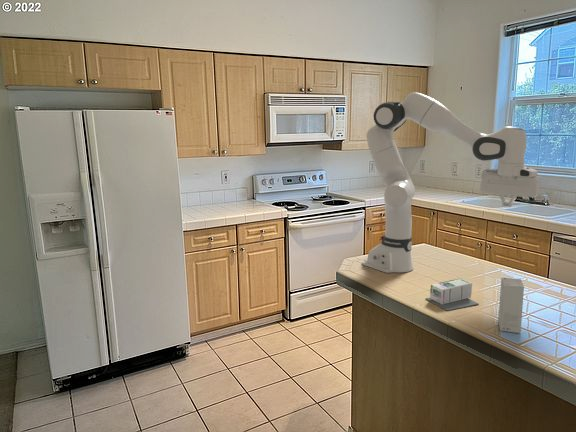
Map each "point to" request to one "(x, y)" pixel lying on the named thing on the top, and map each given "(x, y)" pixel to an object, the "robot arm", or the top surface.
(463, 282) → the syrup box
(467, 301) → the mat
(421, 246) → the top surface
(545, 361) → the top surface
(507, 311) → the skincare box
